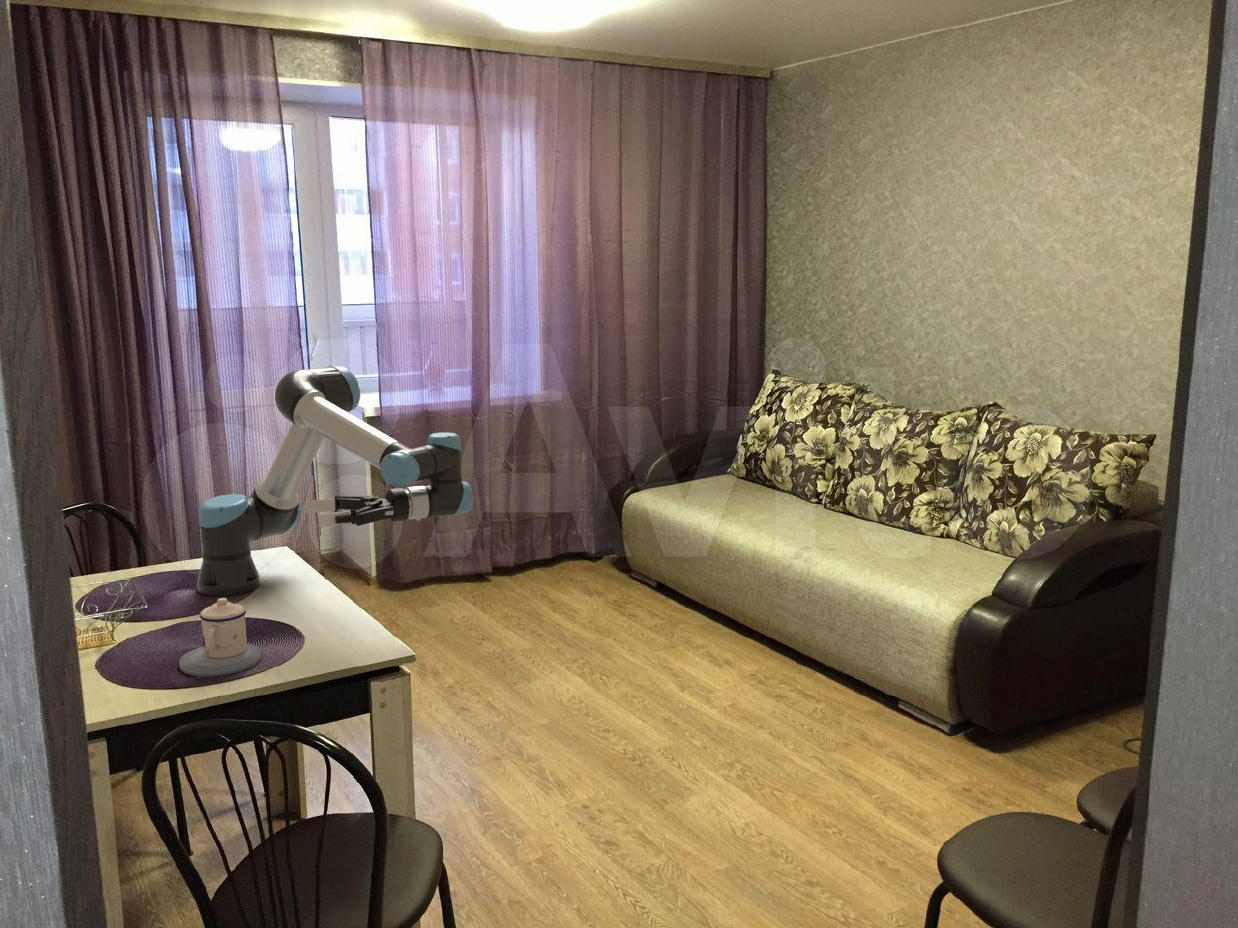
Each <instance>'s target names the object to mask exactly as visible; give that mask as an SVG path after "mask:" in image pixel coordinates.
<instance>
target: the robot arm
mask: <svg viewBox="0 0 1238 928" xmlns="http://www.w3.org/2000/svg"><path fill="white" fill-rule="evenodd" d="M278 381H279V382H278V383H277V385H276V387H275V391H274V392H275V393H274V401H275V405H276V408H277V410H278V411H279V413H280V414H281V415H282V416H283V417H284V418H285V419H286V420H288V421H289V422H290V423H291V426H290V427H289V430H288V431H287V433H286V436H285V438H284V440H283V442H282V444H281V446H280V448H279V450H278V453H277V454H276V457H275V459H274V461H273V463H272V465H271V467H270V469H269V471H268V473H267V475H266V477H265V478H264V479H261V480H259V481H258V482H257V483H256V484H255V486H254V489H253V491H252V493H251V495H249V496H246V495H244V494H241V493H240V494H239V493H228V494H226V495H225V494H221V495H217V496H214V497H212V498H209V499H207V500H205V501H204V502H202V504H201V506H199V507H200V508H199V519H198V522H199V527H200V529H199V530H200V539H201V541H200V542H201V551H202V553H201V554H202V555H201V556H202V563H201V567H200V570H199V573H198V577H197V580H196V581H197V582H196V586H197V592H198V593H199V594H202V595H205V596H215V597H223V596H224V597H225V596H234V595H235V596H236V595H240V594H244V593H245V594H246V593H248V592H251V591H253V590H256V589H257V588H259V587H260V585H261V578H260V574H259V571H258V569H257V566H256V564H255V562H254V560H253V557H252V551H251V543H252V542H256V541H259V540H262V539H266V538H270V537H274V536H277V535H279V536H280V535H283V534H285V533H286V532H288V531H291V530H292V529H294V528H295V527H296V526H297V524H298V523H299V521H300V519H301V514H302V510H301V509H300V508H301V507H302V506H301V500H300V495H299V493H298V491H299V489H300V487H301V485H302V483H303V482H304V479H305V478H306V475H307V473H308V472H309V469H310V467H311V465H312V463H313V461H314V458H315V457H316V455H317V453H318V452H319V449H320V447H321V445H322V443H323V441H324V439H325V438H326V439H328V440H330V441H331V442H333V443H335V444H337V445H339V446H340V447H341V448H343V449H345V450H347V451H349V452H350V453H351V454H353V455H355V456H356V457H358V458H360V459H362V460H363V461H365V462H367V463H369V464H371V465H372V466H374V467H375V468H377V469H378V470H379V472H380V475H381V478H383V479H384V481H385V483H386V484H388V485H389V486H391V487H395V488H389V489H387V491H386V492H385V493H386V494H385V497H384V498H380V496H379V495H377V494H372V495H334V497H333V498H324V499H323V498H322V499H316V500H306V501H305V502H304V505H305V506H304V509H305V514H314V513H315V514H316V513H320V514H318V527H320V528H324V527H325V528H326V527H334V526H343V525H349V524H351V525H356V526H357V527H360V526H364V525H368V524H370V523H371V524H372V523H374V522H378V521H379V522H380V521H383V520H387V519H388V520H389V521H391V522H394V523H395V522H401V521H403V522H404V521H407V520H416V521H417V522H421V519H426V518H436V517H445V516H455V515H461V514H467V513H468V512H470V511H471V510H472V508H473V505H474V495H473V489H472V487H471V485H470V483H469V482H467V481H463V478H462V476H463V475H462V473H463V472H462V451H463V450H462V443H461V442H462V441H461V437H460V435H458V433H455V432H434V433H431V434H429V436H428V438H427V445H423V446H417V447H414V448H411V447H408V446H407V445H406V444H405V445H404V444H403V443H402V442H400V441H397V440H395V439H394V438H393V437H390V436H389V435H388V434H385V433H383V432H382V431H380V430H378V429H377V428H375V427H374V426H372V425H370V424H368V423H366V422H365V421H363V420H361V419H359V418H358V417H356V416H354V415H353V414H351V413H349V412H352V411H353V410H355V409H356V408H357V407H358V405H359V403H360V400H361V389H360V386H359V382H358V379H357V378H356V376H355V375H354V373H353V372H352V371H351V370H350V369H348V368H346V367H344V366H340V365H337V366H336V365H335V366H334V365H328V366H324V367H315V368H307V369H297V370H292V371H290V372H288V373H287V374H285V375H284V376H283V377H282V378H280V380H278ZM426 480H429V484H428V485H416V486H410V485H413V484H415V483H416V484H417V483H419V482H422V481H423V482H424V481H426ZM405 486H407V487H406V488H403V487H405ZM397 487H398V488H397ZM399 487H400V488H399ZM339 510H343V511H339ZM344 510H345V511H344ZM326 512H327V513H326Z"/></svg>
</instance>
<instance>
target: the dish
mask: <svg viewBox="0 0 1238 928" xmlns="http://www.w3.org/2000/svg"><path fill="white" fill-rule="evenodd" d="M261 659H262V651H261V649H260V647H258V646H257V645H254V644H251V643H247V649H246V651H245V652H243V653H242V654H240V655H237V656H234V657H229V658H210V657H207V656H206V655H205V654H204V648H203V646H200V647H197V648H195V649H192V650H190V651H188V652H186V653H184V654H183V655H182V656H181V657H180V658H179V660H178V662H179V664H178V665H179V670H180V671H181V672H182V673H183V674H186V675H189V676H193V677H194V676H195V677H207V678H208V677H209V678H210V677H220V676H221V677H222V676H223V677H224V676H228V675H234V674H237V673H241V672H243V671H247V670H248V669H251V668H253V667H254V666H256V665H257V664H259V663H260V661H261Z"/></svg>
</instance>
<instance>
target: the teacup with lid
mask: <svg viewBox="0 0 1238 928" xmlns="http://www.w3.org/2000/svg"><path fill="white" fill-rule="evenodd" d="M246 613H247V611H246V608H245V606H243V605H241V604H239V603H233V602H231V601H228V599H227V598H226V597H221V598H218V599H217V600H216V603H213V604H212V605H210V606H208V607H206V608H204V609H202V611H200V615H199V618H200V621H201V632H202V633H201V634H202V635H201V636H202V645H203V646H202V647H203V648H204V654H205V655H206V656H207V657H210V658H229V657H234V656H237V655H240V654H242V653H243V652H245V651H246V649H247V644H248V642H247V640H248V639H247V629H246V628H247V625H246V624H247V623H246Z"/></svg>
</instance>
